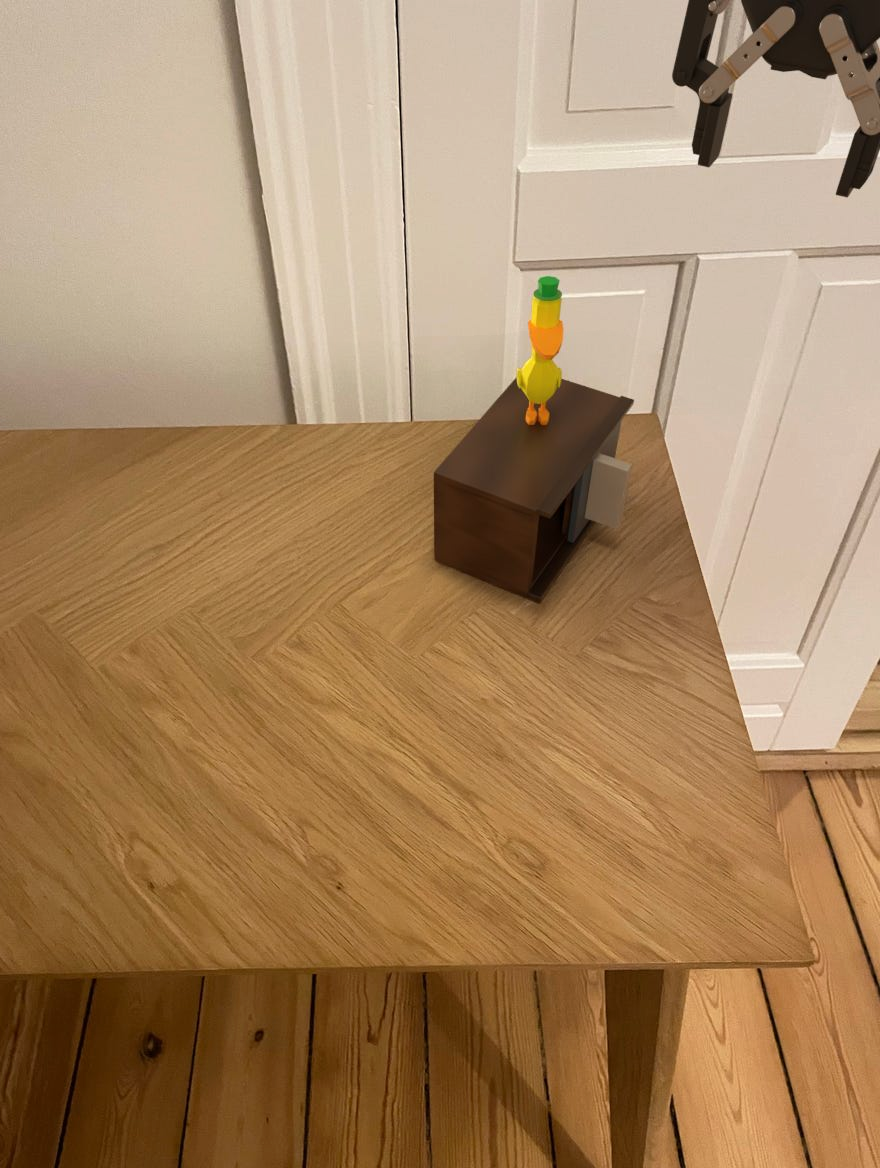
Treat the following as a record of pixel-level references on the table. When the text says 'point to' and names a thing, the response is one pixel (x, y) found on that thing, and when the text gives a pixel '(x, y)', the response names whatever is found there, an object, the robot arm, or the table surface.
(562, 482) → the cupboard
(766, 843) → the table surface
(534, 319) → the toy figure
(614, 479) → the door
